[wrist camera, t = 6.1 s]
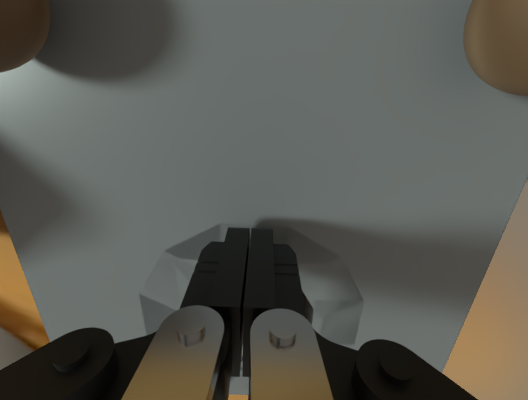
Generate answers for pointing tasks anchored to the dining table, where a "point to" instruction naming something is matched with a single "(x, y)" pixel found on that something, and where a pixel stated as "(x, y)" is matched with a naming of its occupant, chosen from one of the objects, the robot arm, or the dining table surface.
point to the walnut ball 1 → (22, 31)
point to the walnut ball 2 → (498, 43)
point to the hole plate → (260, 161)
